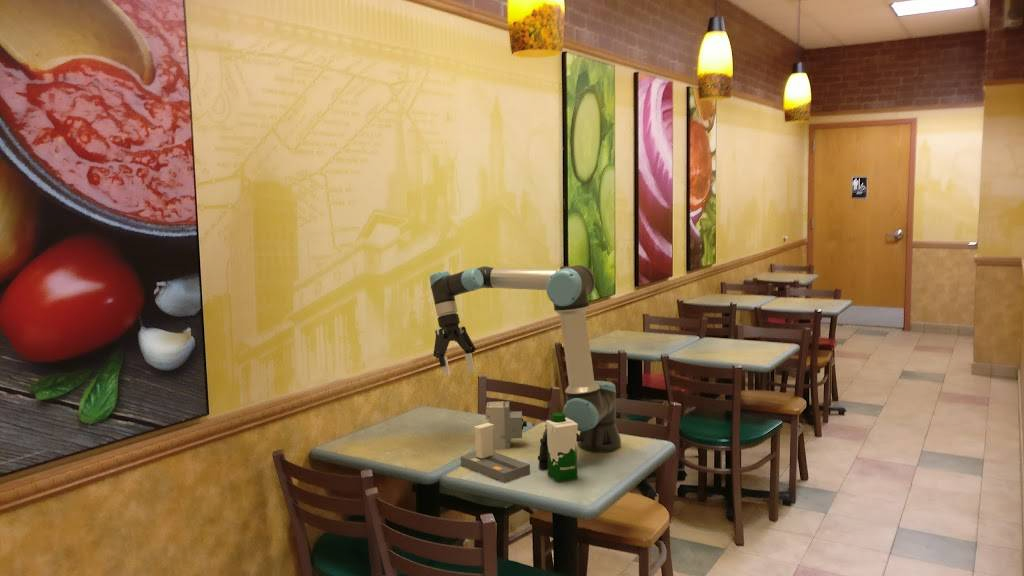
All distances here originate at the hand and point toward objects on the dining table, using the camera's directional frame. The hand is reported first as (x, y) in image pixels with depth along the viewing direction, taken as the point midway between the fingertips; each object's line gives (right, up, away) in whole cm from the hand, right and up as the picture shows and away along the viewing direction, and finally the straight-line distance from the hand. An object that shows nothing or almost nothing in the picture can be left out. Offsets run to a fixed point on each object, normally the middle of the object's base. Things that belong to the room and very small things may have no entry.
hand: (459, 373), depth 283 cm
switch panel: (+13, -29, -21) cm, 38 cm away
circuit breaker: (+17, -26, +3) cm, 31 cm away
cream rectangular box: (+9, -25, -18) cm, 32 cm away
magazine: (+34, -29, -20) cm, 49 cm away
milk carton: (+35, -30, -29) cm, 54 cm away
